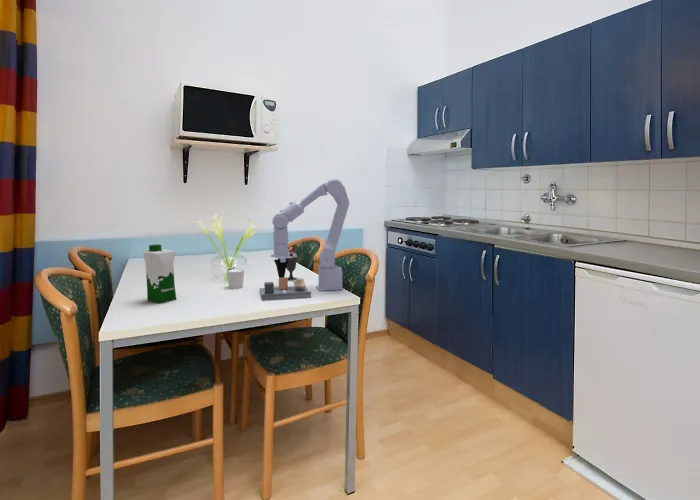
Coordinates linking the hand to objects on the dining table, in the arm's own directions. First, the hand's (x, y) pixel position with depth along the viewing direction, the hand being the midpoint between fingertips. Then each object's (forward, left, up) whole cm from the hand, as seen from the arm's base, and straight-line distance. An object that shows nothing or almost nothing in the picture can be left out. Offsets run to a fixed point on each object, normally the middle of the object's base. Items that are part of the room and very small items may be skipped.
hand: (281, 277), depth 174 cm
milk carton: (+44, +7, -5) cm, 45 cm away
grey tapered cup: (+18, -8, -5) cm, 20 cm away
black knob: (+6, +13, -3) cm, 15 cm away
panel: (0, +10, -5) cm, 11 cm away
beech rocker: (-6, +9, -1) cm, 11 cm away
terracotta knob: (0, +6, -3) cm, 6 cm away
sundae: (-6, -18, -5) cm, 20 cm away
